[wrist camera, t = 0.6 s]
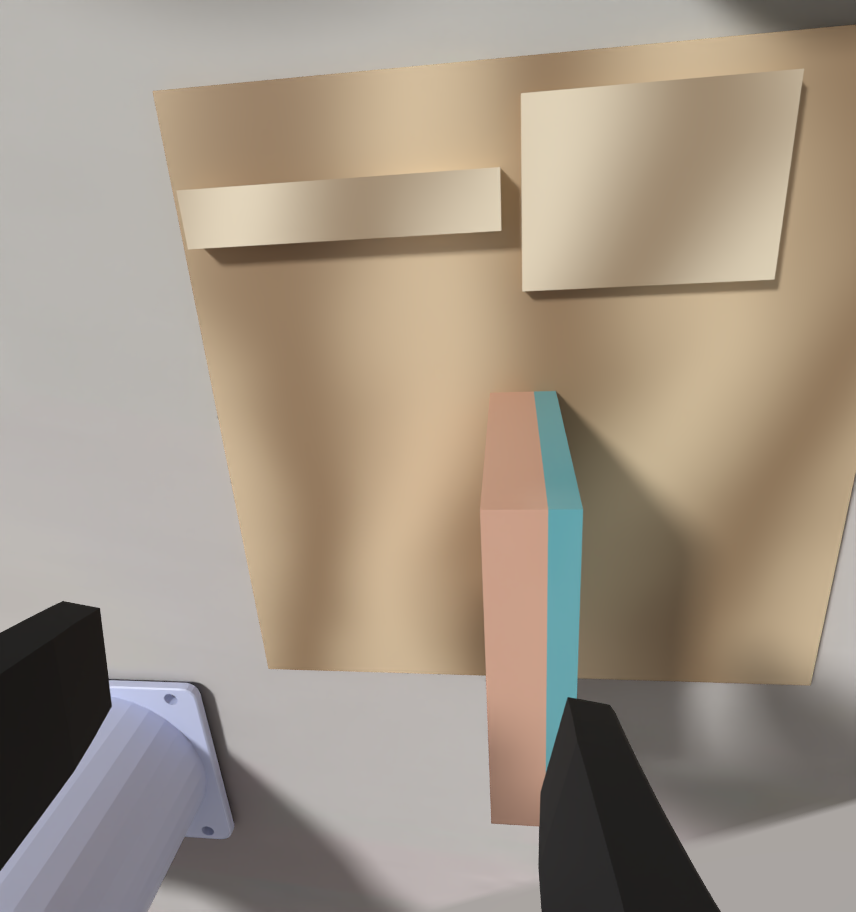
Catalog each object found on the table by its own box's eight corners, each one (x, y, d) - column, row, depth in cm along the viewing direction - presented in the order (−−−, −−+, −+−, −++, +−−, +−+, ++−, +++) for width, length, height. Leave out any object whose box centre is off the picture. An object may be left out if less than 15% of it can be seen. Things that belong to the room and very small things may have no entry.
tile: (496, 627, 21) (491, 823, 14) (490, 392, 18) (479, 509, 11) (552, 628, 21) (572, 828, 14) (555, 390, 18) (582, 509, 11)
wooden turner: (212, 303, 18) (199, 308, 17) (178, 125, 16) (162, 123, 15) (766, 276, 16) (779, 281, 15) (794, 72, 14) (810, 66, 13)
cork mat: (273, 659, 23) (268, 668, 23) (162, 93, 16) (152, 91, 16) (803, 674, 21) (810, 685, 20) (938, 20, 14) (952, 15, 13)
